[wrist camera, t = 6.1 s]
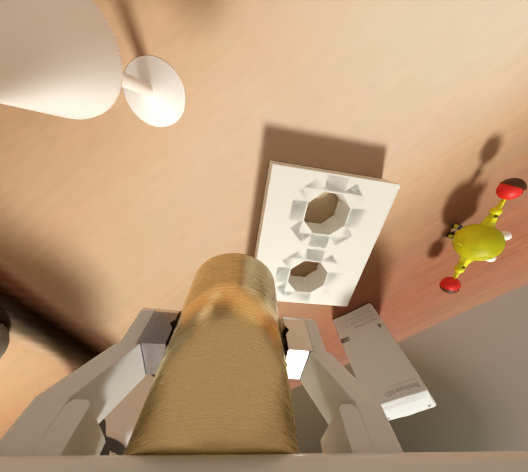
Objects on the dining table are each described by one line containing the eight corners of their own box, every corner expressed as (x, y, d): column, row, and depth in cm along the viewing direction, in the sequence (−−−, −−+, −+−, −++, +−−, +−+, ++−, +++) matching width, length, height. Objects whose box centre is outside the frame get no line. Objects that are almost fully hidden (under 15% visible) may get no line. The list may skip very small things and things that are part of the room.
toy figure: (441, 276, 37) (478, 304, 31) (413, 274, 37) (445, 302, 31) (501, 174, 30) (566, 185, 23) (466, 170, 29) (524, 179, 23)
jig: (337, 290, 37) (346, 306, 34) (250, 282, 35) (249, 298, 32) (382, 178, 29) (400, 184, 25) (269, 160, 27) (272, 164, 23)
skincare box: (369, 301, 39) (431, 387, 26) (379, 319, 41) (441, 407, 28) (329, 320, 41) (368, 410, 27) (342, 336, 43) (382, 427, 30)
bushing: (268, 318, 13) (283, 503, 6) (194, 313, 12) (130, 509, 6) (281, 257, 11) (322, 437, 4) (193, 249, 10) (98, 436, 4)
